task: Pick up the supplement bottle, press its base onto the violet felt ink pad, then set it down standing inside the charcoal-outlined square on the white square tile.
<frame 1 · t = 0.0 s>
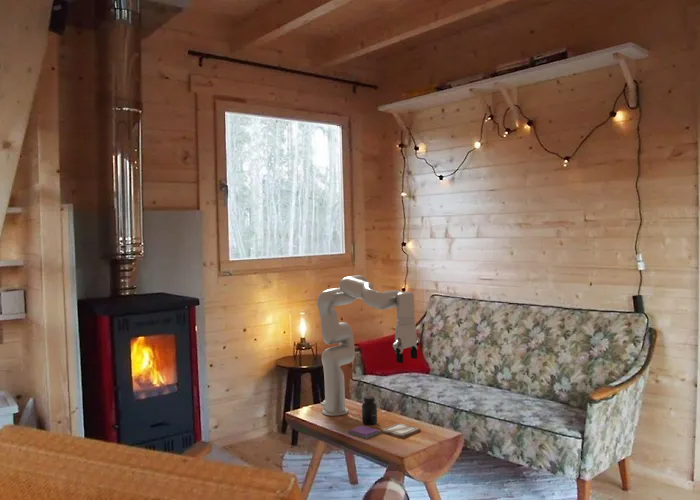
hand: (407, 360, 268), 31 cm above the table, tool pointing down, fingers open, 9 cm apart
ink pad: (364, 433, 269), on the table
supplement bottle: (369, 423, 283), on the table
white square tile: (400, 431, 270), on the table
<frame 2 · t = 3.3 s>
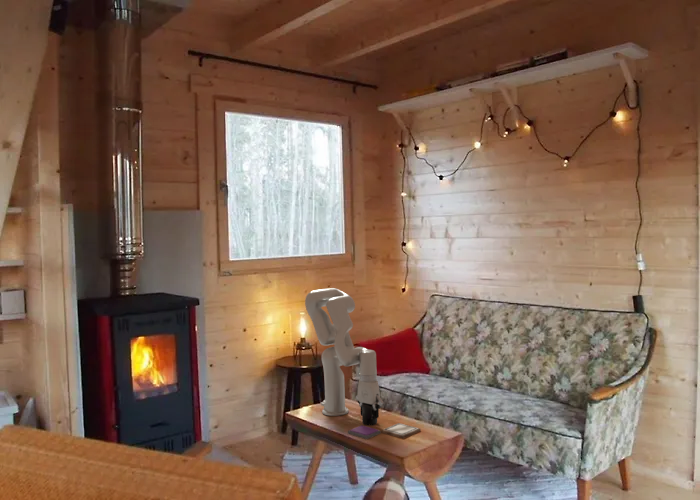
hand: (369, 416, 282), 3 cm above the table, tool pointing down, fingers closed on supplement bottle, 6 cm apart
supplement bottle: (369, 423, 283), on the table, touching gripper
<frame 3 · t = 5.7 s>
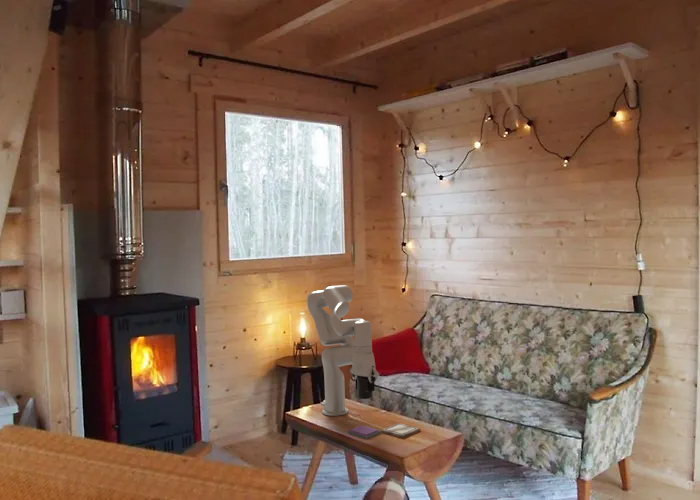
hand: (365, 389, 272), 18 cm above the table, tool pointing down, fingers closed on supplement bottle, 6 cm apart
supplement bottle: (365, 397, 272), point 15 cm above the table, touching gripper
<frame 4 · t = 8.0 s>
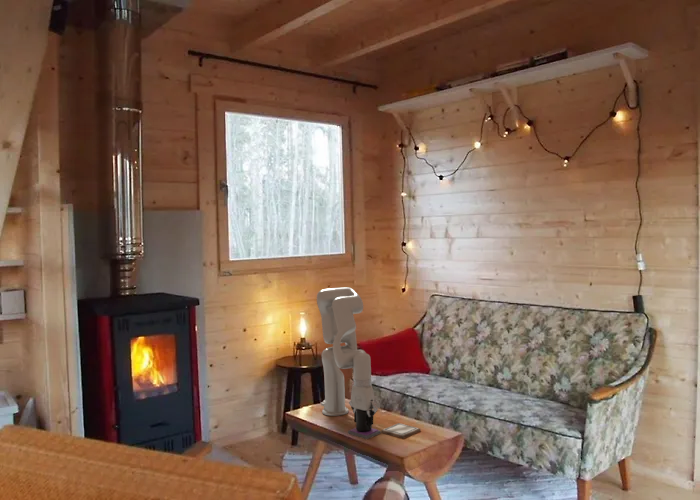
hand: (363, 423, 269), 5 cm above the table, tool pointing down, fingers closed on supplement bottle, 6 cm apart
supplement bottle: (364, 430, 269), point 1 cm above the table, touching gripper, ink pad
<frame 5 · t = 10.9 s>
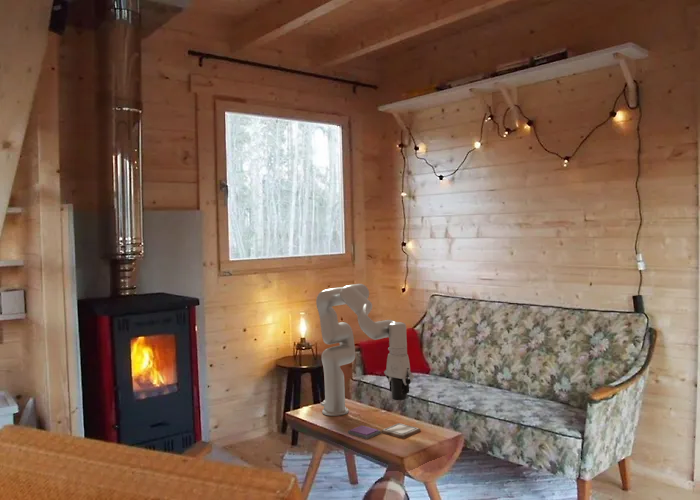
hand: (399, 391, 269), 18 cm above the table, tool pointing down, fingers closed on supplement bottle, 6 cm apart
supplement bottle: (399, 399, 270), point 14 cm above the table, touching gripper
when the fingers open (5 cm above the table, at t = 13.0 s): supplement bottle drops 1 cm, resting on white square tile.
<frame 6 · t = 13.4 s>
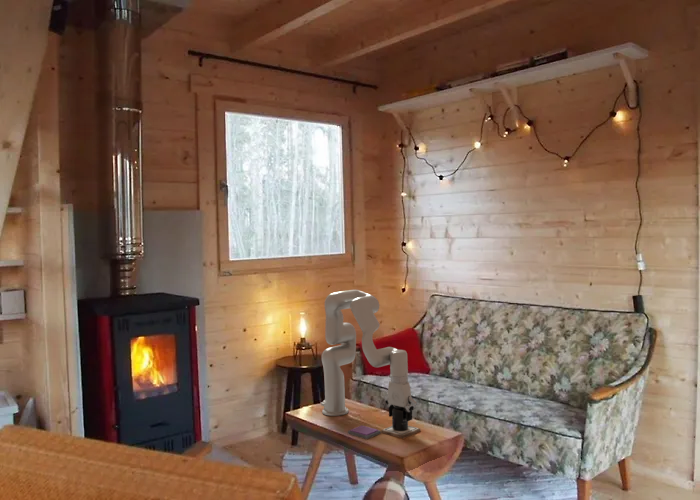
hand: (400, 418, 270), 6 cm above the table, tool pointing down, fingers open, 9 cm apart
supplement bottle: (400, 429, 270), point 1 cm above the table, touching white square tile
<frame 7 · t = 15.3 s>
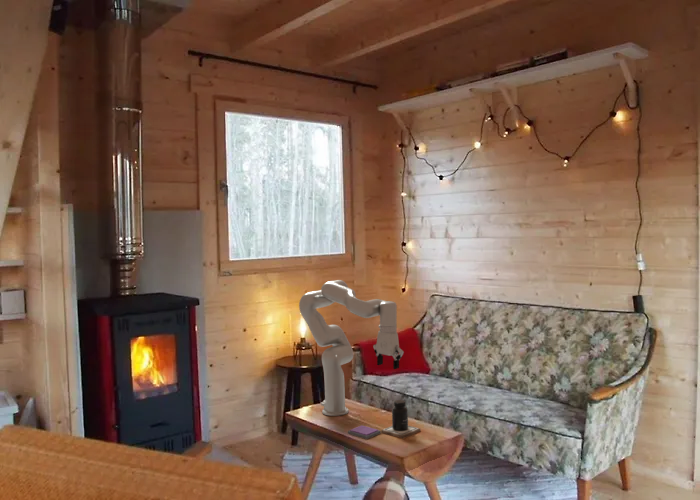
hand: (388, 366, 281), 26 cm above the table, tool pointing down, fingers open, 9 cm apart
nothing on the table moved.
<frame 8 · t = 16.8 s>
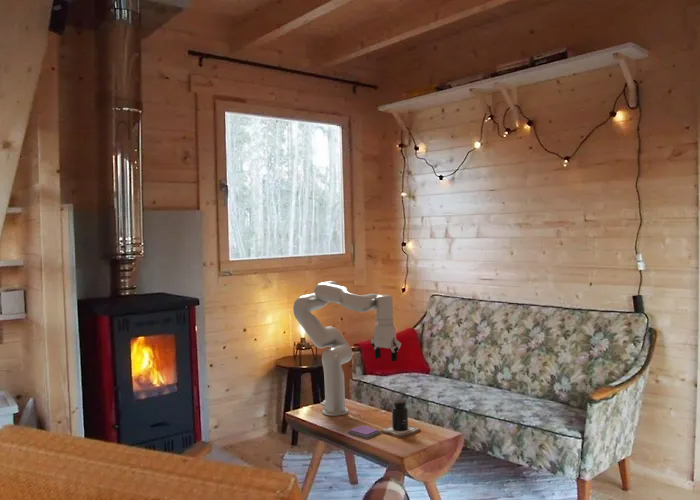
hand: (386, 359, 284), 28 cm above the table, tool pointing down, fingers open, 9 cm apart
nothing on the table moved.
at the end: supplement bottle 0.3 cm off-centre on the white square tile, point 1.0 cm above the white square tile's base; supplement bottle tilted 0°; the gripper is holding nothing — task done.
